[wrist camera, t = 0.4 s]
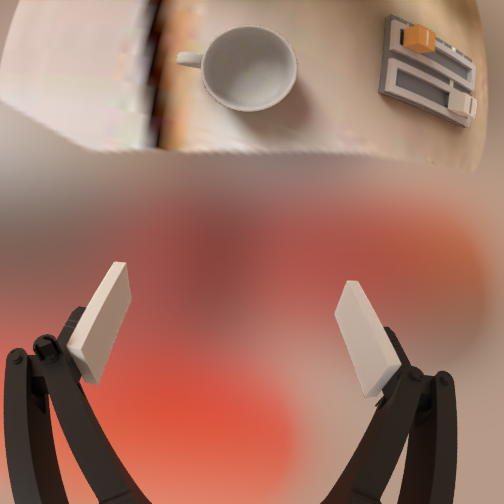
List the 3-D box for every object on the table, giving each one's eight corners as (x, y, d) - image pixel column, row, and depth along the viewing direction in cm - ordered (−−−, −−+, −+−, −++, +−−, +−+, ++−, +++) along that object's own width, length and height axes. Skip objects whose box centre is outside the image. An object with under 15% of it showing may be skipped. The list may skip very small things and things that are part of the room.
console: (385, 17, 26) (395, 13, 23) (464, 60, 28) (475, 59, 25) (378, 92, 33) (388, 92, 30) (458, 126, 35) (469, 129, 32)
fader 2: (445, 90, 30) (466, 92, 25) (457, 97, 30) (477, 100, 26) (442, 108, 31) (463, 111, 27) (454, 114, 32) (475, 118, 27)
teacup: (298, 58, 31) (313, 48, 24) (267, 122, 36) (274, 126, 29) (206, 23, 27) (198, 5, 21) (174, 88, 32) (159, 85, 25)
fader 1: (400, 30, 25) (419, 24, 21) (416, 37, 26) (435, 33, 21) (399, 46, 27) (418, 42, 22) (415, 54, 27) (435, 51, 23)
